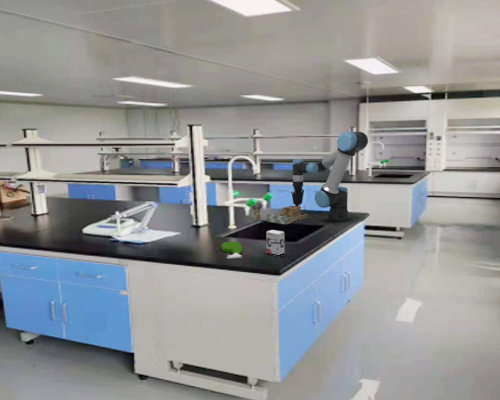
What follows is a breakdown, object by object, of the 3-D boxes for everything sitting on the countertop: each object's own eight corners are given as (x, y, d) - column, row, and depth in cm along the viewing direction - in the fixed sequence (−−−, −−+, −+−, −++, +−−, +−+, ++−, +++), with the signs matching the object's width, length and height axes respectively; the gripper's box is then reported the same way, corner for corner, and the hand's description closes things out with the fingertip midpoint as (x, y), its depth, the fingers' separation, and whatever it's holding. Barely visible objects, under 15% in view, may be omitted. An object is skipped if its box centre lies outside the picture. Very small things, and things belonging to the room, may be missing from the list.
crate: (300, 218, 320) (300, 207, 319) (292, 220, 314) (292, 208, 312) (290, 216, 327) (290, 205, 325) (282, 218, 320) (282, 207, 318)
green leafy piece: (240, 246, 249) (246, 259, 225) (220, 247, 248) (224, 261, 224) (240, 241, 249) (246, 254, 225) (220, 242, 247) (224, 255, 223)
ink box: (265, 253, 233) (265, 231, 232) (272, 251, 237) (271, 229, 235) (278, 256, 228) (278, 233, 226) (285, 254, 231) (284, 231, 229)
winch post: (261, 220, 316) (261, 200, 314) (257, 221, 313) (257, 201, 311) (255, 219, 321) (254, 199, 318) (250, 220, 317) (250, 200, 315)
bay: (307, 218, 321) (307, 211, 320) (285, 224, 302) (285, 217, 301) (289, 215, 331) (289, 208, 330) (266, 221, 312) (266, 214, 311)
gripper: (299, 179, 328) (298, 211, 332) (288, 181, 319) (287, 214, 323) (307, 180, 323) (307, 212, 327) (296, 182, 314) (296, 215, 318)
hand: (297, 213), depth 325 cm, fingers closed
